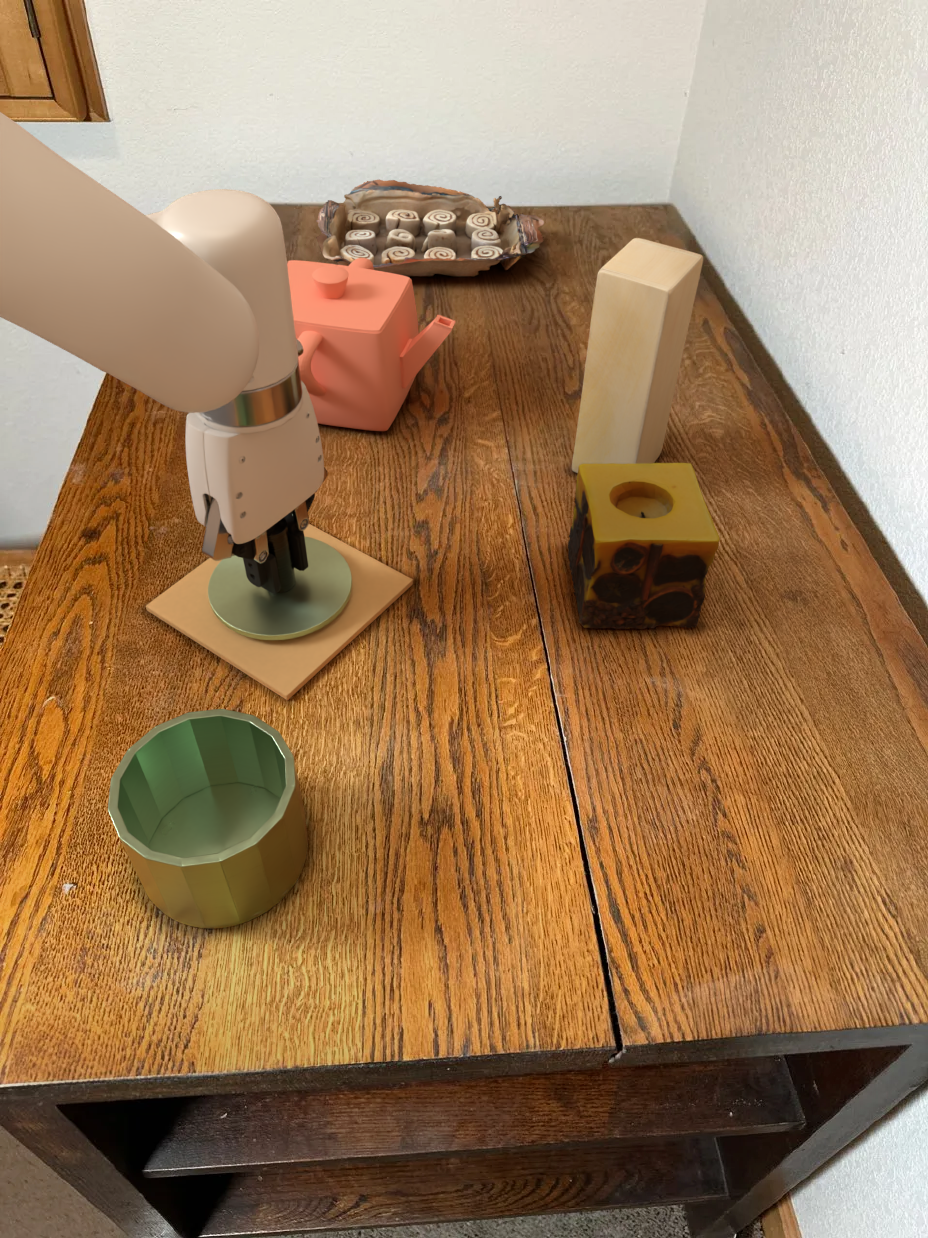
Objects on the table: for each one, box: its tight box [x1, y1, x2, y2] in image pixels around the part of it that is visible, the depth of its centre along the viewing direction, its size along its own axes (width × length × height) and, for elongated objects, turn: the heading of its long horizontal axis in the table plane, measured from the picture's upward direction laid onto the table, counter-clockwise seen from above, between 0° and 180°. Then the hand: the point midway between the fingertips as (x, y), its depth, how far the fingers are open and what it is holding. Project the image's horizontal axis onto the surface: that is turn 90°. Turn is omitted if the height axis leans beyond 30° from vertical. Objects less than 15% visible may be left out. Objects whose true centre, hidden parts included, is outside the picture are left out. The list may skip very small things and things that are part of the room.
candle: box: [567, 462, 721, 630], centre depth 78 cm, size 10×10×10 cm
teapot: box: [287, 258, 456, 432], centre depth 95 cm, size 20×22×14 cm
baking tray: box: [315, 179, 545, 277], centre depth 122 cm, size 30×22×5 cm
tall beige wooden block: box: [571, 237, 704, 474], centre depth 86 cm, size 8×7×21 cm
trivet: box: [145, 523, 414, 701], centre depth 80 cm, size 16×16×1 cm
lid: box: [208, 517, 352, 640], centre depth 77 cm, size 12×12×8 cm
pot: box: [107, 708, 309, 930], centre depth 61 cm, size 11×11×8 cm
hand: (278, 572), depth 78 cm, fingers closed on lid, 2 cm apart
